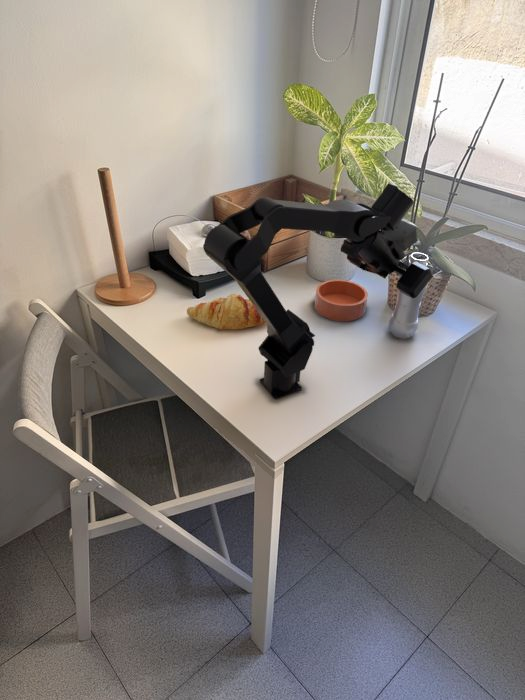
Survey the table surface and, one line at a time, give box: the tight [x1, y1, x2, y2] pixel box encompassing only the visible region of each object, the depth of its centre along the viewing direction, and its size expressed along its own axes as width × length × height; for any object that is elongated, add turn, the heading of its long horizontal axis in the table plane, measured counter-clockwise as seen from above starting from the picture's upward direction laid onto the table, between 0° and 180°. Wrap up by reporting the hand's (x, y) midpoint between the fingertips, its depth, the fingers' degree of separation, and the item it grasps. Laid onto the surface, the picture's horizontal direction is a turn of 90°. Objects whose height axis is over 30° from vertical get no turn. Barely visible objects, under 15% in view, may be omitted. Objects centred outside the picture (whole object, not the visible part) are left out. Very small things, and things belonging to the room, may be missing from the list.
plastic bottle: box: [388, 252, 430, 339], centre depth 114 cm, size 6×7×20 cm
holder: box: [314, 279, 369, 322], centre depth 127 cm, size 13×13×4 cm
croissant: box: [186, 293, 266, 330], centre depth 120 cm, size 21×10×8 cm, turn 87°
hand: (401, 283), depth 109 cm, fingers open, 9 cm apart
